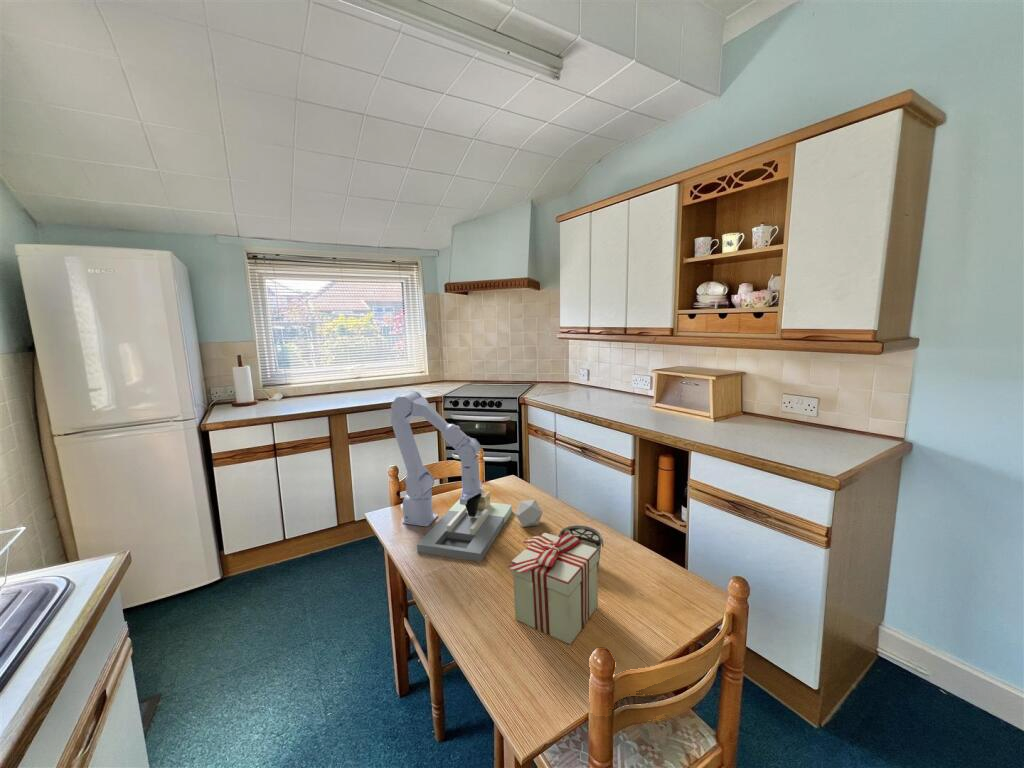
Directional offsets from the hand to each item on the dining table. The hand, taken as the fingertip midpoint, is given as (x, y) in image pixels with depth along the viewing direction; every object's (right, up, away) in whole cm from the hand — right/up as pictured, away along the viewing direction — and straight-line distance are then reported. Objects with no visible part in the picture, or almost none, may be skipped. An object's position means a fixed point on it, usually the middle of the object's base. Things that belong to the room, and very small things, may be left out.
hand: (472, 515), depth 139 cm
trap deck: (-1, -4, -2) cm, 4 cm away
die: (+19, -3, 0) cm, 19 cm away
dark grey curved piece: (+33, -6, -23) cm, 40 cm away
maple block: (+2, +1, +7) cm, 8 cm away
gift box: (+22, -10, -41) cm, 48 cm away
